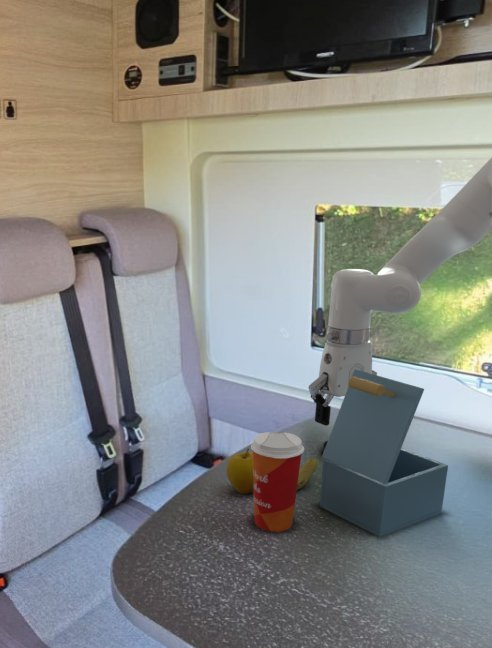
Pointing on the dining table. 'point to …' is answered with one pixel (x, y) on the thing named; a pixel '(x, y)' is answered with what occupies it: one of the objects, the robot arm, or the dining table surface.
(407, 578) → the dining table surface
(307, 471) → the banana
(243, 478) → the apple
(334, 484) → the chest
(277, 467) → the coffee cup
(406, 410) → the lid
